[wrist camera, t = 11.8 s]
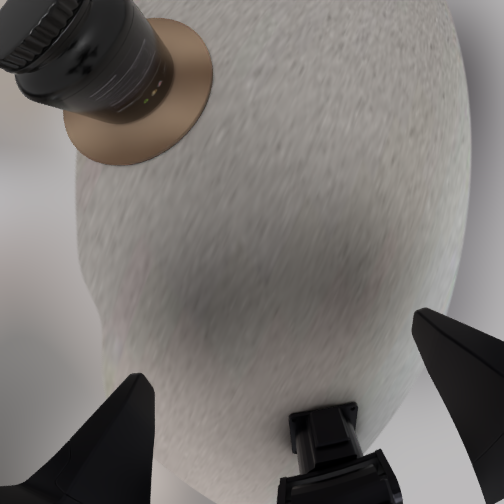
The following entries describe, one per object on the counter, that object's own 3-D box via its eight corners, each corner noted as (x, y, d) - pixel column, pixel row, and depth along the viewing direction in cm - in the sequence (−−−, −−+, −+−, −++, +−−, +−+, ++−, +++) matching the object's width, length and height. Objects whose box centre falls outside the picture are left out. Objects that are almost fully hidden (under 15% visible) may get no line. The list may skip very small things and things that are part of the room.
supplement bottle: (76, 104, 16) (-44, 68, 4) (129, 32, 14) (44, -52, 3) (137, 144, 17) (-1, 111, 5) (197, 63, 15) (132, -56, 4)
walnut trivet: (223, 144, 17) (222, 142, 17) (73, 183, 18) (67, 183, 17) (204, 7, 15) (202, 2, 14) (70, 54, 15) (66, 51, 14)
